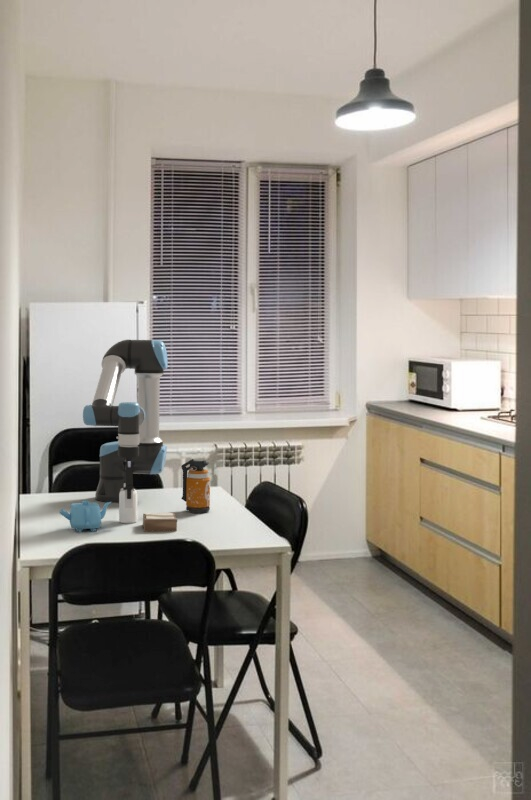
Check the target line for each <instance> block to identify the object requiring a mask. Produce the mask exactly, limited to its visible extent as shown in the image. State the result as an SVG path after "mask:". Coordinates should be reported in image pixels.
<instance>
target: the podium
mask: <svg viewBox="0 0 531 800" xmlns="http://www.w3.org/2000/svg"><path fill="white" fill-rule="evenodd" d="M177 522H178V519H177V516H176V514H175V512H149V513H148V512H145V513H142V526H143V530H144V533H149V532H177V531H178V529H177V528H178V523H177Z"/></svg>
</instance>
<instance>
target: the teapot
mask: <svg viewBox="0 0 531 800" xmlns="http://www.w3.org/2000/svg"><path fill="white" fill-rule="evenodd" d="M112 503H113V502H105V503H104V505H103V507H102V510H101V507H100V505H99V504H98V502H96V501H94V502H89V500H82V501H81V502H78V503H76V502H75V503H71V504H70V511H69V512H67V511H66V510H65V509H63V508H62V509H60V511H59V512H58V513H59V515H62V516H63V517H64V518H65V519H67V520H68V521H69V525H70V528H71V529H72V530H76V531H75V532H76V533H82V532H83V530H87V529H90V532H97V531H98V530H97V529H100V528H101V527H102V520H103V519H104V518H105V516H106V512H107V509H108V506H109V505H110V504H112Z"/></svg>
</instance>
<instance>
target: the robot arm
mask: <svg viewBox="0 0 531 800" xmlns="http://www.w3.org/2000/svg"><path fill="white" fill-rule="evenodd" d="M168 360H169V359H168V352H167V348H166V345H165V343H164V342H163V341H162V340H158V339H157V340H156V339H123V340H121V341H117V342H116V343H115V344H113V345H112V346H111V347H110V348H108V349H107V351H106V352H105V353H104V355H103V357H102V360H101V368H102V369H101V373H100V376H99V379H98V384H97V387H96V389H95V393H94V396H93V399H92V403H91V404H89V405H88V404H87V405H85V406H84V407H83V410H82V420H83V423H84V425H86V426H91V427H92V426H93V427H117V429H118V430H117V435H118V436H116V439H117V441H111V442H106V443H104V444H101V446H100V449H99V481H98V484H97V487H96V490H95V494H94V496H95V500H96V501H99V502H105V503H108V502H112V503H119V493H120V491H121V488H123V490H125V508H133V488H134V478H133V477H134V475H133V474H135V475H136V474H137V475H141V474H142V475H159V474H161V473H163V471H164V468H165V464H166V459H167V453H168V452H167V450H168V448H167V447H168V446H167V445H164V441H163V439H162V438H161V436H160V399H161V398H160V393H161V392H160V389H161V388H160V387H161V385H160V384H161V383H160V381H161V379H160V378H161V377H162V376H163V375H164V371H166V370H167V369H168V364H169V362H168ZM126 369H132V370H134V375H135V376H136V377H137V378H138V380H137V381H138V382H137V384H138V385H137V386H138V387H137V388H138V389H137V390H138V391H137V394H138V395H137V402H134V401H133V402H132V401H131V402H129V401H126V402H125V401H123V402H120V403H119V404H118V405H114V402H115V399H116V395H117V391H118V387H119V385H120V380H121V376H122V374H123V373H124V372H125V371H126Z"/></svg>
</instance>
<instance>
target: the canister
mask: <svg viewBox="0 0 531 800" xmlns="http://www.w3.org/2000/svg"><path fill="white" fill-rule="evenodd" d="M209 464H210V463H209V462H208V461H207V460H197V459H193V458H192V459H190V460H188V461H186V462H185V463H184V464H181V465H180V466H181V469H182V496H181V498H180V499H181V500H182V501H183V502H186V503H185V505H186V508H185V510H186V511H187V512H190V513H193V514H203V513H207V512H208V511H210V510H211V507H210V505H211V504H210V502H211V495H210V494H211V478H210V475H209V470H208V469H205V468H206V467H207V466H208V465H209ZM188 465H189V466H188ZM187 466H188V467H187Z"/></svg>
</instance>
